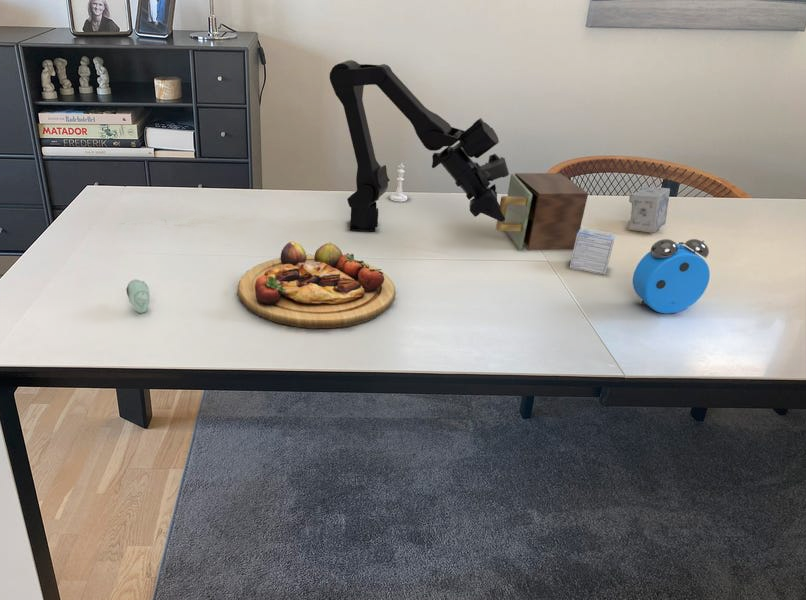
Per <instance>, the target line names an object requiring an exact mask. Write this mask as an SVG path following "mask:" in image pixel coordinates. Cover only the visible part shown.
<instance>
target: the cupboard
mask: <svg viewBox="0 0 806 600" xmlns="http://www.w3.org/2000/svg"><path fill="white" fill-rule="evenodd" d="M514 174H515V176H516V177H517V178H518V179H519V180H520V181H521V182H522V183H523V184H524V186H525V187H526V188H527V189H528V190H529V191H530V192H531V193H532V194H533V195H532V200H531V205H530V211H529V216H528V221H527V226H526V232H525V237H524V242H523V246H524V247H525V248H526V249H527V250H528V251H553V250H554V251H556V250H558V251H559V250H560V251H561V250H563V251H565V250H566V251H567V250H574V246H575V242H576V237H577V233H578V231H579V229H580V228H581V227H582V222H583V218H584V215H585V214H584V213H585V210H586V204H587V201H588V197H589V193H588V192H587V191H585V190H584V189H583V188H581V187H580V186H579V185H577V184H576V183H575V182H574V181H572V180H571V179H570V178H568V177H567V176H565V175H564V174H562V173H560V172H557V173H556V172H553V173H551V172H546V173H545V172H542V173H541V172H537V173H536V172H532V173H531V172H527V173H526V172H518V173H517V172H515V173H514Z"/></svg>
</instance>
